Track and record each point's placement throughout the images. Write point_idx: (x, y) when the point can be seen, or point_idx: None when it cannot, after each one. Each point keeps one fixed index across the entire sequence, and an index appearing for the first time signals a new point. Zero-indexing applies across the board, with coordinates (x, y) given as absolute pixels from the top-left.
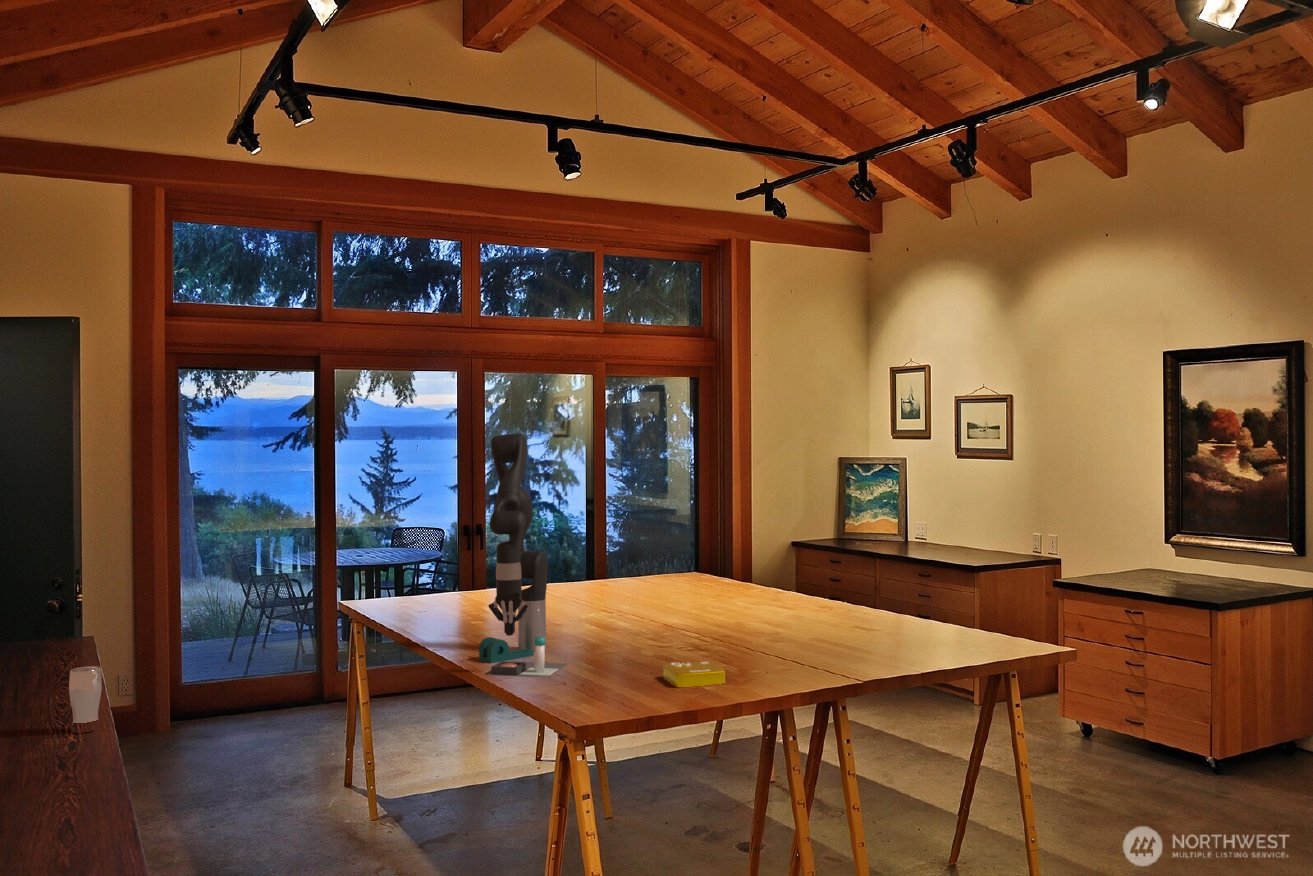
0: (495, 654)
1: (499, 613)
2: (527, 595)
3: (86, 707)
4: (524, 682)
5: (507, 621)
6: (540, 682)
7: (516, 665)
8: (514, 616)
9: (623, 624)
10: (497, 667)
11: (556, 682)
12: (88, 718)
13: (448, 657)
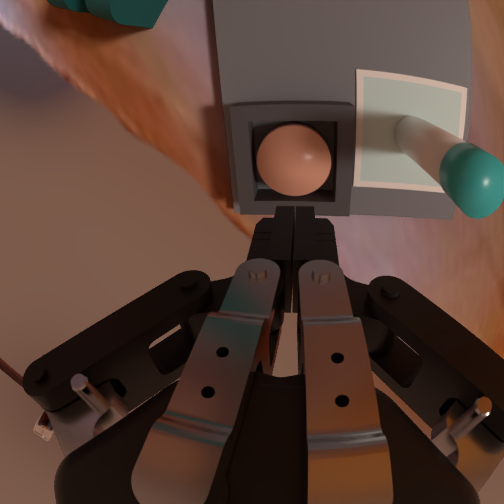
0: (141, 5)
1: (148, 328)
2: None
3: None
4: (383, 247)
5: (281, 323)
6: (429, 241)
7: (330, 164)
8: (340, 315)
9: None
10: (266, 213)
11: (470, 235)
12: None
13: (3, 14)
